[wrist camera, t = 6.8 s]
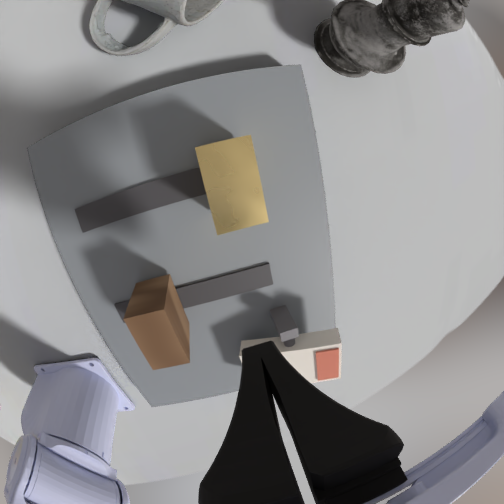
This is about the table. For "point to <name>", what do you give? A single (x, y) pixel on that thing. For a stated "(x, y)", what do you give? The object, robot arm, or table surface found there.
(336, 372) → the rocker
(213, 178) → the tan wooden block
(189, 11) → the ceramic mug
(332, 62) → the grey stone rounded piece
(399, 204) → the table surface
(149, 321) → the walnut knob
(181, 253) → the console
